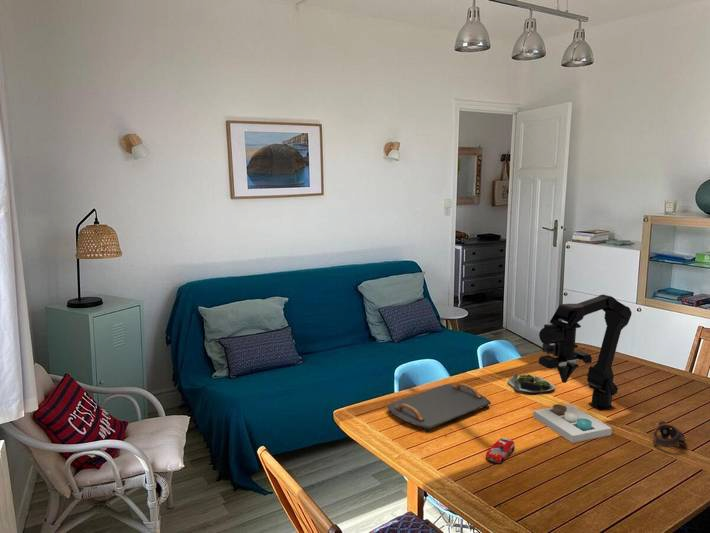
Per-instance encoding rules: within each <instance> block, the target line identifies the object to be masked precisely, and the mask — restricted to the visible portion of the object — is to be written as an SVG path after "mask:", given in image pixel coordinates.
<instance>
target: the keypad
mask: <svg viewBox="0 0 710 533" xmlns="http://www.w3.org/2000/svg"><path fill="white" fill-rule="evenodd" d="M564 406H566V407H567V411H572V412H576V413H578V414H579V419H580V418H583V419H588V420H590V421H591V422H592V426H591V430H587V431H582V430H580V429H579V428H577V427H576V426H577V422H576V423H569V422H567V421H566V420H564V415H562V416H558V415H556V414H554V413H553V406H551V407H547V408H542V409H536V410H533V415H532V418H534V419H535V420H537V421H538V422H540V423H541V424H542V425H544V426H546V427H547V428H549V429H550V430H552V431H553V432H555V433H557V434H558V435H560V436H561V437H562V438H564V439H565V440H568V441H569V442H570V443H572V444H574V443H575V444H576V443H578V442H584V441H588V440H594V439H599V438H603V437H608V436H612V430H613V428H612V427H611V426H609V425H608V424H605V423H604V422H602V421H600V420H599V419H597V418H595V417H593V416H591V415H590V414H588V413H586V412H584V411H582V410H581V409H579V408H577V407H575V406H574V405H572V404H569V403H568V404H565V405H564Z"/></svg>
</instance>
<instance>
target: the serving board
mask: <svg viewBox="0 0 710 533" xmlns="http://www.w3.org/2000/svg"><path fill="white" fill-rule="evenodd" d="M491 403H492V402H491V401H490V399H488V398H487V397H486V396H484V395H482V394H481V393H479V391H478V390H477V389H476V388H475V387H474V386H472V385H469V384H466V383H462V382H461V383H458V384H457V385H455V384H454V385H453V384H448V383H447V384H442V385H440V386H437V387H434V388H431V389H428V390H426V391H422V392H420V393H417V394H415V395H414V394H413V395H410V396H409V397H405V398H402V399H399V400H396V401H393V402H391V403H389V404H387V406H386V407H387V409H388V410H389V413H390V414H392V415H394V416H396V417H397V418H398V419H400V420H402V421H405V422H406V423H409V424H412V425H414V426H419V427H423V430H424V432H427V433H428V432H430V431H431V429H432V428H435V427H437V426H440V425H442V424H445V423H448V422H450V421H453V420H455V419H456V418H460V417H463V416H465V415H467V414H469V413H473V412H475V411H477V410H478V409H482V408H485V409H486V408H488V407H489V405H491Z"/></svg>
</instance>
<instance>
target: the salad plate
mask: <svg viewBox="0 0 710 533" xmlns="http://www.w3.org/2000/svg"><path fill="white" fill-rule="evenodd" d="M507 383H508V384H509V386H511V387H513V389H515V391H517V392H519V393H521V394H524V395H529V394H530V395H529V396H532V395H533V396H535V395H536V394H539V395H547V394H551V393H552V392H555V391H554V390H555V388H556V387H555V386H556V385H554V384H553V383H550V382H549V381H548V380H546V379H544V378H542V377H540V376H536V375H531V374H523V373H520V375H518V374H517V373H513V375H512V377H511V378H508V379H507ZM536 396H537V395H536Z"/></svg>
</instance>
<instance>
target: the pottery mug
mask: <svg viewBox="0 0 710 533" xmlns="http://www.w3.org/2000/svg"><path fill="white" fill-rule="evenodd" d="M658 431H659V433H660V436H661V437H660V436H658V435H657V433H658ZM669 436H670V438H668V437H669ZM652 438H653V439H652V443H653V445H654V447H656V446H659V447H664V448H668V447H669V448H671V447H678V448H679V447H681V446H680V444H682V445H683V446H684V448H685V449H686V448H687V449H688V442H687V441H686V438H685V434H684V432H683V431H682V430H681V429H679V427H677V426H676V425H674V424H672V423H667V422H666V421H664V420H661V421H659V422H658V425H656V426H655V428H654V429H653V437H652Z"/></svg>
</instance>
